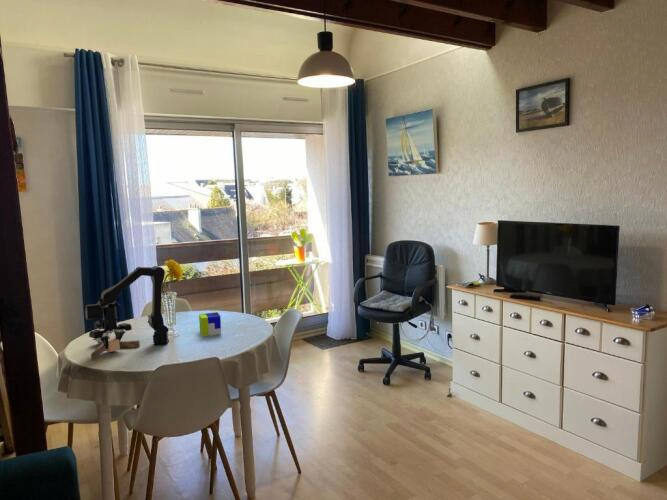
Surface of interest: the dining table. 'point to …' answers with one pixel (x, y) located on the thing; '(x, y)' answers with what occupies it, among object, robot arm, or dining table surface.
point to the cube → (113, 345)
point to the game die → (100, 339)
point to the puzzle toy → (210, 324)
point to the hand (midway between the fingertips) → (112, 347)
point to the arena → (122, 345)
